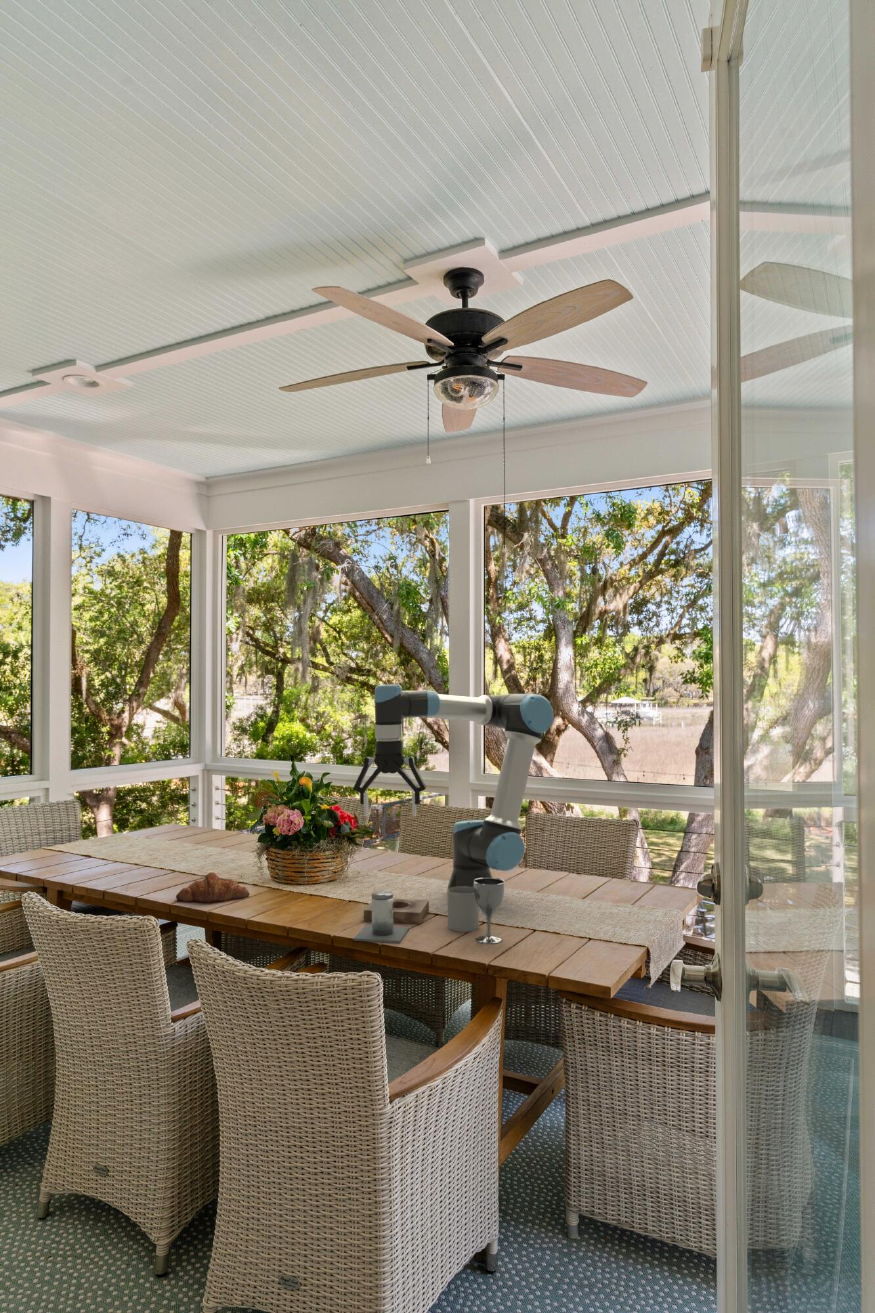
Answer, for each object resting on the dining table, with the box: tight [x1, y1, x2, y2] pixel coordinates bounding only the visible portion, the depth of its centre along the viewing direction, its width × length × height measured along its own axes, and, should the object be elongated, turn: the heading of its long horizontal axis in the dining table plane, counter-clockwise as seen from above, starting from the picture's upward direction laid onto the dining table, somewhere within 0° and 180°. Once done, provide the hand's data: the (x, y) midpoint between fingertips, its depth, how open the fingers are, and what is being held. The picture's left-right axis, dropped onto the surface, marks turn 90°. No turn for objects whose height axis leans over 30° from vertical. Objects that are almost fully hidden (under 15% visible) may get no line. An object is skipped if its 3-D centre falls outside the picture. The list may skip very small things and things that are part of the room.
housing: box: [363, 897, 430, 925], centre depth 236 cm, size 16×14×3 cm
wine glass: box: [474, 877, 506, 945], centre depth 214 cm, size 8×8×15 cm
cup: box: [447, 886, 480, 933], centre depth 225 cm, size 8×8×10 cm
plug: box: [371, 890, 394, 935], centre depth 217 cm, size 6×6×10 cm
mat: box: [353, 924, 410, 944], centre depth 217 cm, size 12×12×1 cm
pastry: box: [175, 871, 250, 904], centre depth 254 cm, size 17×15×8 cm
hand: (390, 816), depth 231 cm, fingers open, 13 cm apart
